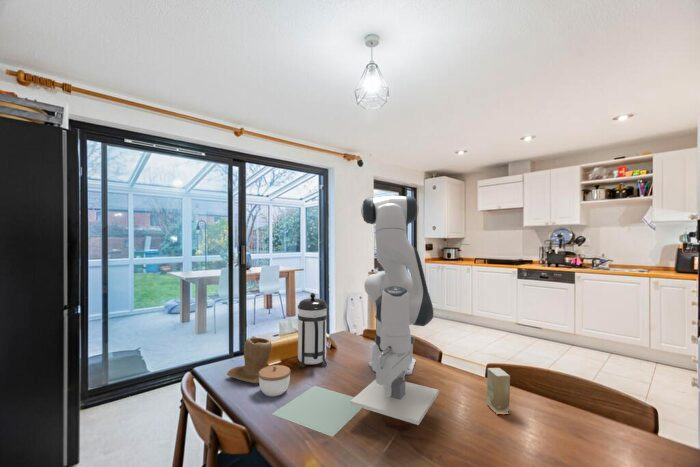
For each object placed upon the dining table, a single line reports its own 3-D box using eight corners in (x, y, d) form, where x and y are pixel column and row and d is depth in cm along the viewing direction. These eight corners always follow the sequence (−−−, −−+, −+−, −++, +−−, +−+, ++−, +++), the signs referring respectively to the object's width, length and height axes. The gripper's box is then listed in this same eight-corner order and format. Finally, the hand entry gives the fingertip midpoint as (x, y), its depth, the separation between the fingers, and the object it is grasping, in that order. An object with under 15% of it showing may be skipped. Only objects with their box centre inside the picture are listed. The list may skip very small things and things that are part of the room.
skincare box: (486, 405, 105) (486, 367, 105) (499, 404, 106) (499, 367, 106) (496, 415, 99) (497, 375, 99) (510, 415, 99) (510, 375, 99)
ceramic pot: (429, 447, 84) (428, 419, 84) (362, 437, 88) (362, 411, 88) (428, 412, 102) (428, 389, 102) (372, 406, 106) (372, 384, 106)
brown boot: (277, 376, 126) (278, 337, 126) (255, 388, 115) (256, 346, 115) (249, 368, 133) (249, 332, 133) (225, 379, 122) (226, 339, 123)
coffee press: (285, 365, 136) (286, 294, 137) (310, 354, 150) (311, 289, 150) (316, 375, 126) (317, 298, 127) (340, 363, 140) (341, 293, 140)
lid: (379, 378, 110) (379, 363, 110) (439, 393, 100) (439, 376, 100) (350, 404, 92) (350, 386, 92) (418, 425, 82) (418, 405, 82)
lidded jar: (282, 402, 105) (283, 374, 106) (252, 399, 108) (252, 371, 108) (294, 388, 116) (295, 361, 116) (266, 385, 118) (267, 359, 118)
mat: (314, 387, 117) (314, 385, 117) (369, 402, 106) (369, 401, 106) (271, 415, 98) (271, 414, 98) (332, 438, 87) (332, 436, 87)
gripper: (391, 355, 86) (391, 407, 86) (416, 335, 104) (416, 378, 103) (370, 350, 89) (370, 401, 89) (397, 332, 107) (397, 374, 107)
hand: (395, 389), depth 96 cm, fingers open, 8 cm apart
